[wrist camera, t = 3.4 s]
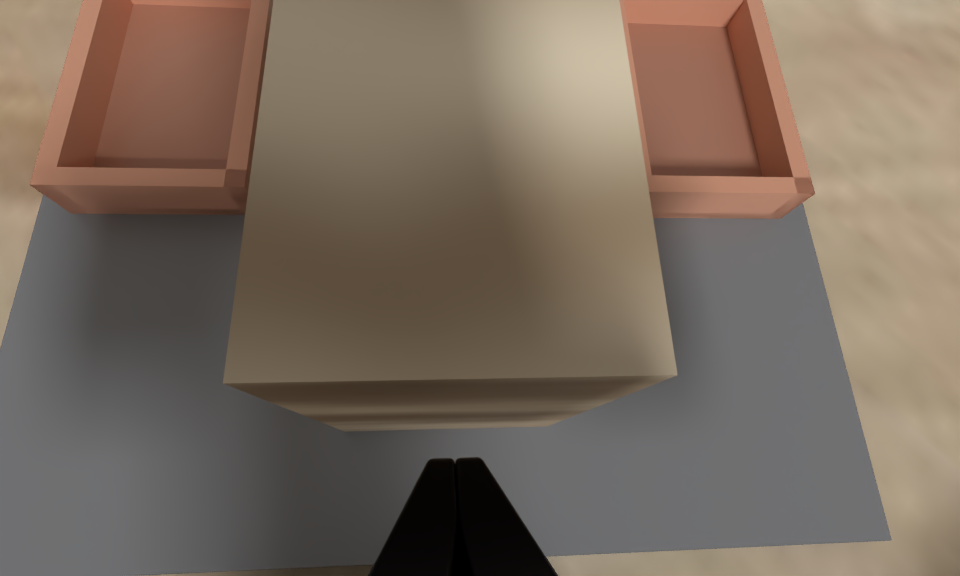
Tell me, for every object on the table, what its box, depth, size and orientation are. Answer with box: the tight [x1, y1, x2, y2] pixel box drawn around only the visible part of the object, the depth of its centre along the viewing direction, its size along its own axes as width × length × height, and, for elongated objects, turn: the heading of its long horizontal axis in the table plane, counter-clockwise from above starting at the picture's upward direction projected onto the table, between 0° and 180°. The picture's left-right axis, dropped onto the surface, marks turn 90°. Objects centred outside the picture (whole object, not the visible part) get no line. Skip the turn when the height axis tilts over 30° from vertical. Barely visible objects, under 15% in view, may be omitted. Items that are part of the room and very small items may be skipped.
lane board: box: [0, 194, 891, 576], centre depth 18 cm, size 30×26×3 cm
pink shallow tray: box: [619, 0, 815, 219], centre depth 19 cm, size 9×6×2 cm, turn 2°
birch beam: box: [223, 0, 677, 432], centre depth 14 cm, size 16×6×9 cm, turn 2°
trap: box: [29, 0, 273, 215], centre depth 18 cm, size 9×6×2 cm, turn 2°
